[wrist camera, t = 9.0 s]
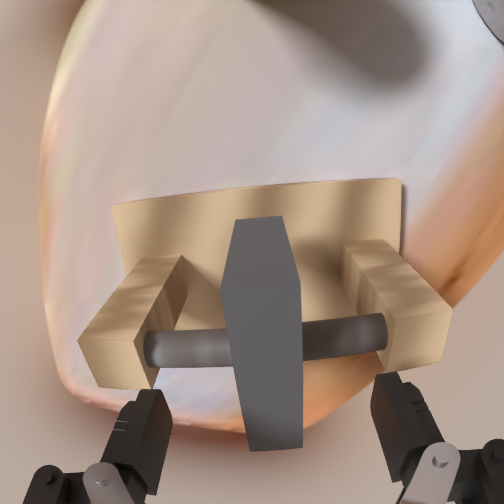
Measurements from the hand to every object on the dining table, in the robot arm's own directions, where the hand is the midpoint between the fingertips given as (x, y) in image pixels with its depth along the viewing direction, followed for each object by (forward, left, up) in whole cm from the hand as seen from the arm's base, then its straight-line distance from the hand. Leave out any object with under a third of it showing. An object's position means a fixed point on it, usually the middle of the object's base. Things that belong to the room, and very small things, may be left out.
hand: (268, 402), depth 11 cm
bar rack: (0, 0, -13) cm, 13 cm away
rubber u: (0, 0, -9) cm, 9 cm away
